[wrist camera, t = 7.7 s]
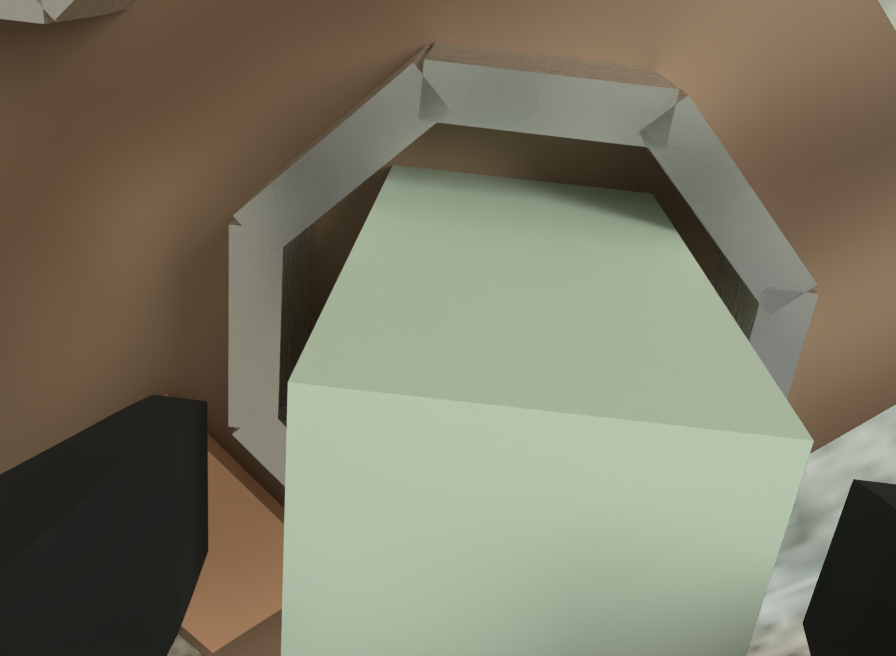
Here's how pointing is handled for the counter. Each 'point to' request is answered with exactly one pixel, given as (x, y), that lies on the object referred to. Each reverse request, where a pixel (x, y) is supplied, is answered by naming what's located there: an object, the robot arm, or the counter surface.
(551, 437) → the sage plug
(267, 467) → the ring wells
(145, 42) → the walnut board
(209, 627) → the tags
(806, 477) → the counter surface
